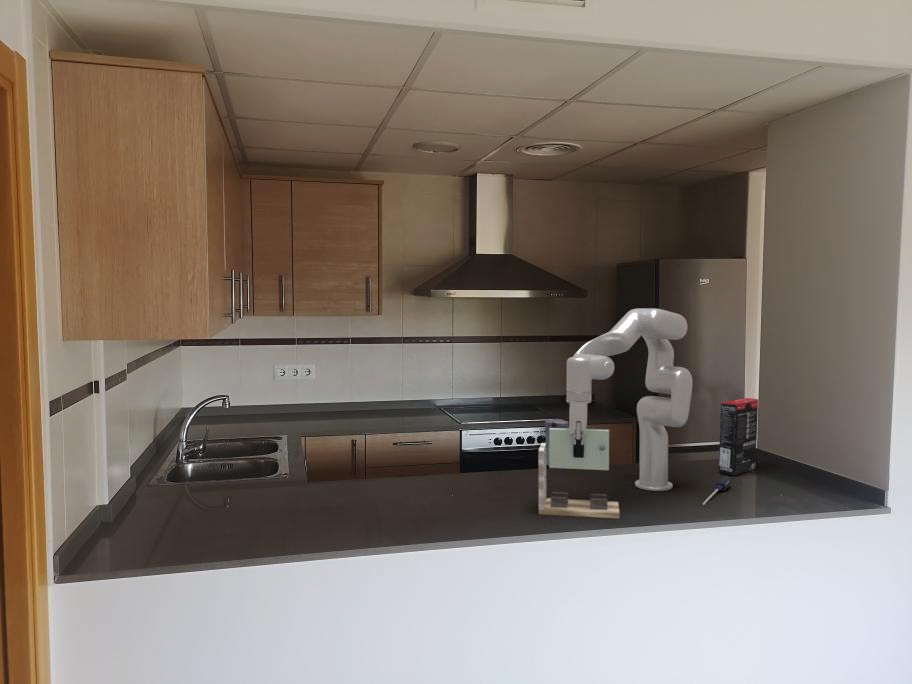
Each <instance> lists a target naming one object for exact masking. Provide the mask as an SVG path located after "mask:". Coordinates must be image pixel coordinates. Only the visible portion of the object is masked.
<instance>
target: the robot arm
mask: <svg viewBox="0 0 912 684" xmlns="http://www.w3.org/2000/svg"><path fill="white" fill-rule="evenodd" d="M687 331H688V323H687V320H686V318H685V317H684V316H683V315H681V314H679V313H676V312H672V311H669V310H665V309H661V308H650V307H649V308H646V307H645V308H639V307H638V308H634V309H633V308H632V309H630V310H629V311H628V312H626V313H625V314H624V316H622V318H621V319H620V320H618V322H617V323H616V324H615V325H614V326H613V327H612V328H611V329H610V330H609V331H608V332H606V333H603V334H601V335H599V336H597V337H595V338H593V339H591V340H589V341H587V342H586V343H584V344H583V345H582V346H581V347H580V348H579V349H578V350H577V351H576V352H575V353H574V354H573V356H572V357H569V358H567V360H566V402H567V403H569V411H568V412H569V414H568V415H569V416H568V418H569V422H568V423H569V424H568V429H569V434H570V435H572V434H573V433H574V444H573V457H575V458H584V445H583V435H585V433H586V429H587V424H588V404H590V403H592V380H599V381H600V380H607V379H608V378H610V377H611V376H612V375H613V374H614V372H615V363H614V361H613V359H612V358H610V357H609V356H615V355H619V354H622V353H626V352H627V351H629V350H630V349H631V348H632V346H633V345H634V344H635V343H636V342H637V341H638V340H639V339H640V338H641V337H642V338H643V339H644V341H645V344H646V346H647V350H648V357H647V366H646V372H645V387H646V389H647V390H648V391H650V392H652V393H659V394H666V395H671V396H670V397H665V396H664V397H663V396H654V395H647V396H643V397H642V398H640V399H639V401H638V402H637V405H636V417H637V420H638V427H639V478H638V479H637V480H636V481H634V486H635V487H636V488H638V489H641V490H644V491H652V492H664V491H670V490H672V489H673V485H674V484H673V483H672V482H671V481H669V435H668V432H667V430H666V428H665V427H671V428H681V427H683V426H684V425H686V423H687V422H688V420H689V419H688V418H689V415H690V410H691V409H690V407H691V400H692V393H693V392H692V391H693V377H692V374H691V372H690V371H689V369H687V368H685V367H683V366H682V367H681V366H674V358H675V351H674V348H673V346H672V344H671V342H670V341H669V340H681V339H683V338H684V337H685V336H686V334H687ZM575 433H576V434H575ZM581 433H582V434H581Z"/></svg>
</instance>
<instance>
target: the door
mask: <svg viewBox="0 0 912 684" xmlns="http://www.w3.org/2000/svg"><path fill="white" fill-rule="evenodd" d="M575 434H576V433H575ZM581 434H582V433H581ZM573 444H574V433H573V434H572V435H570V434H569V427H568V428H550V429H549V466H548V468H549V469H574V470H591V471H592V470H594V471H595V470H596V471H609V469H610V429H602V428H601V429H598V428H597V429H595V428H586V433H585V435H583V445H584V458H575V457H573Z"/></svg>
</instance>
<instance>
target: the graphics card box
mask: <svg viewBox="0 0 912 684" xmlns="http://www.w3.org/2000/svg"><path fill="white" fill-rule="evenodd" d="M758 411H759V399H757V398H754V397H753V398H752V397H751V398H750V397H747V398H738V399H734V400H727V401H723V402H721V403H720V423H719V426H720V427H719V449H718V450H719V452H718V453H719V454H718V473H719V474H723V475H724V474H725V475H729V476H732V477H735V476H737V475H742V474H744V473H747V472H750V471H754V470H756V467H757V466H756V465H757V444H758V443H757V440H758V415H759V413H758Z"/></svg>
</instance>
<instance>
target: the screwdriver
mask: <svg viewBox="0 0 912 684" xmlns="http://www.w3.org/2000/svg"><path fill="white" fill-rule="evenodd" d="M731 483H732V479H731V478H730V477H729V476H724V477H721V478H720V479H719V480H718V481H717V482H716V484H715V486H716V487H715V490H714V491H713V492H712V493H711V494H710V495H709V496H708V497H707V498H706V499H705V501H703V502H702V505H706V504H707V503H708V502H709V501H710V500H711V499H712V498H713V496H714V495H716V494H717V492H718V491H720V492H724V491H726V490H727V488H729V486H730V485H731Z"/></svg>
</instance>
